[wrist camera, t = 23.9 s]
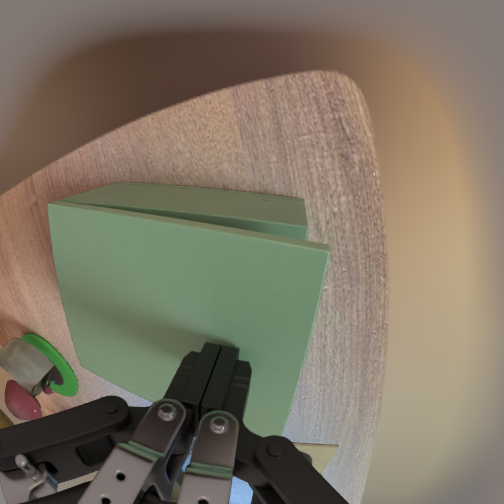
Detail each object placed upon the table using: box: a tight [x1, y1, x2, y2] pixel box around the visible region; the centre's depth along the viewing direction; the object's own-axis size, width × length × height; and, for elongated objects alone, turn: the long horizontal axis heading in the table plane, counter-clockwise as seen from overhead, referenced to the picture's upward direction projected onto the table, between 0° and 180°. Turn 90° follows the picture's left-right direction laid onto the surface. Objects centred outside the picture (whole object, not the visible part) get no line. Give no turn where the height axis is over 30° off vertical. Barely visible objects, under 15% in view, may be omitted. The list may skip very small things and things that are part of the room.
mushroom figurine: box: [0, 333, 78, 429], centre depth 23 cm, size 12×13×15 cm
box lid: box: [47, 201, 330, 437], centre depth 14 cm, size 14×12×1 cm
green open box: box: [58, 182, 309, 241], centre depth 18 cm, size 14×12×7 cm
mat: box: [293, 443, 339, 474], centre depth 29 cm, size 10×10×1 cm
